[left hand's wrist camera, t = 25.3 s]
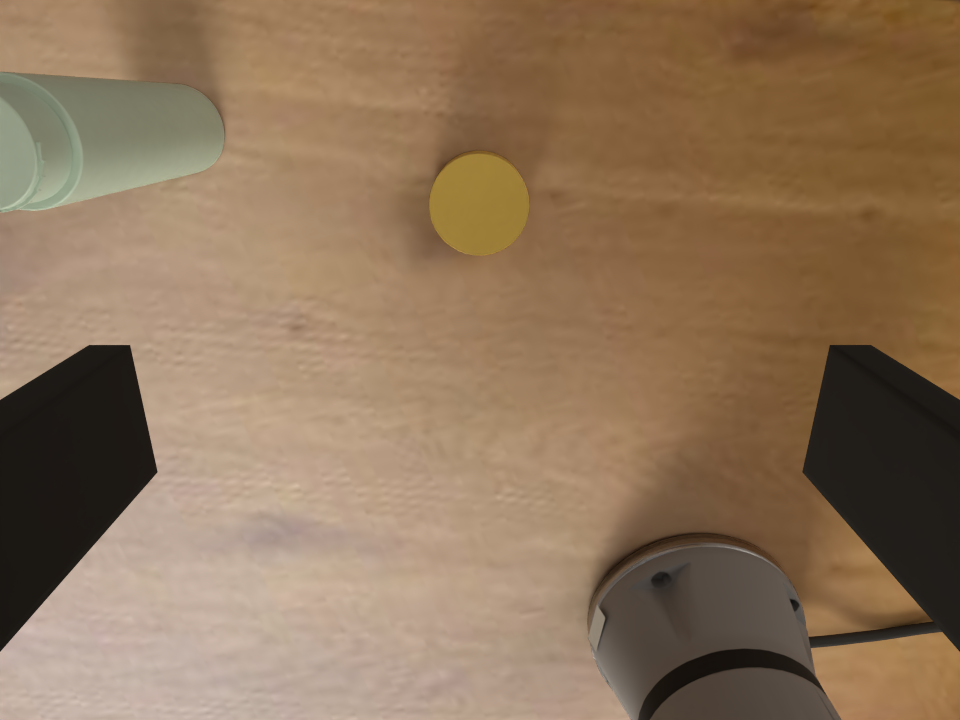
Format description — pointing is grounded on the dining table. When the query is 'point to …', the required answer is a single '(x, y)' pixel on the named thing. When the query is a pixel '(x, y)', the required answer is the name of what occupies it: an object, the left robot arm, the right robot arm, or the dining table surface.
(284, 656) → the dining table surface
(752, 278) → the dining table surface
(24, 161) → the jar
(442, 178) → the lid
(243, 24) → the dining table surface
